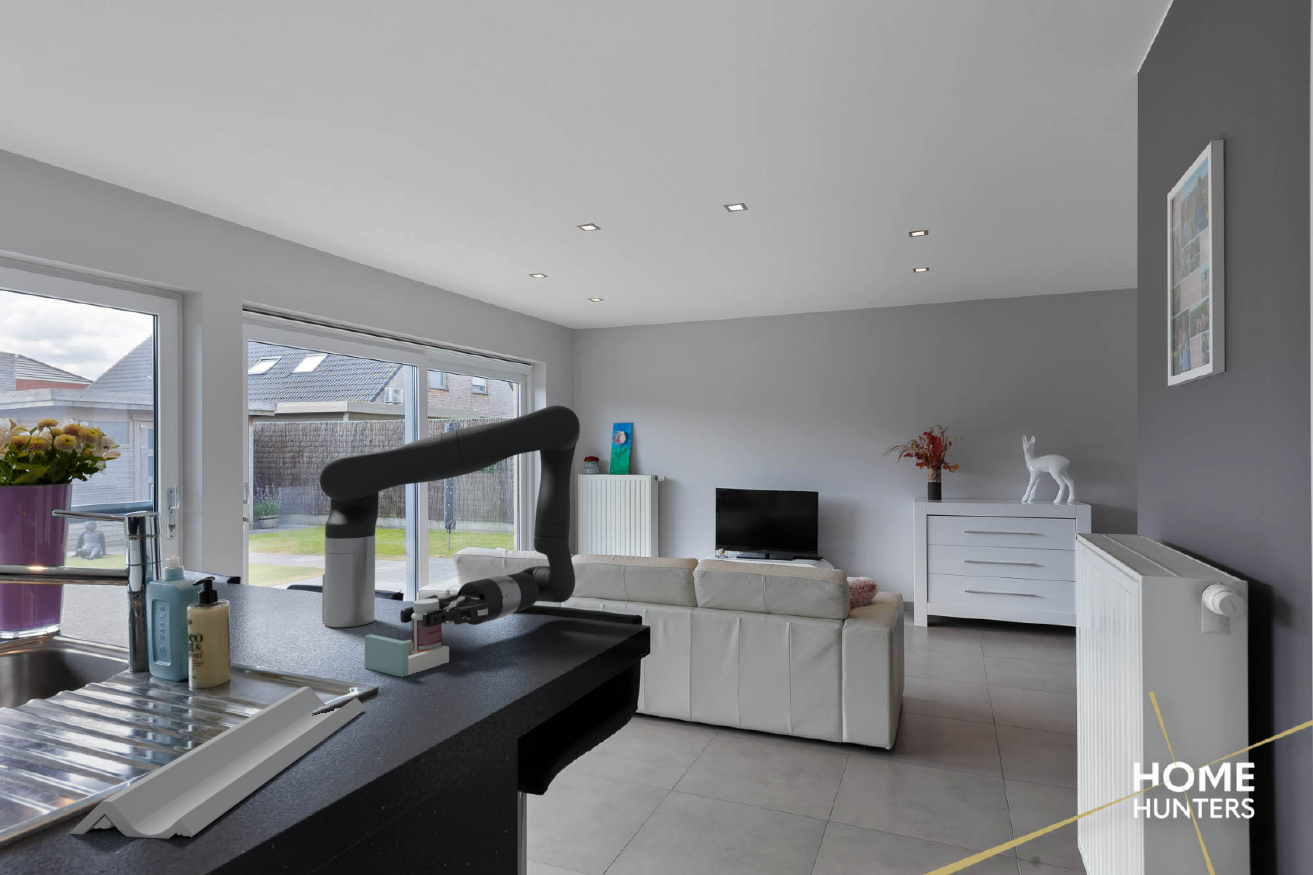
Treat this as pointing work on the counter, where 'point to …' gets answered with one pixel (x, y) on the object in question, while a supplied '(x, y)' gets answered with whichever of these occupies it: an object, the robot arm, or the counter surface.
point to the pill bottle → (423, 635)
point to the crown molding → (220, 770)
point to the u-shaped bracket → (400, 656)
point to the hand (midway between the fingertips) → (413, 618)
